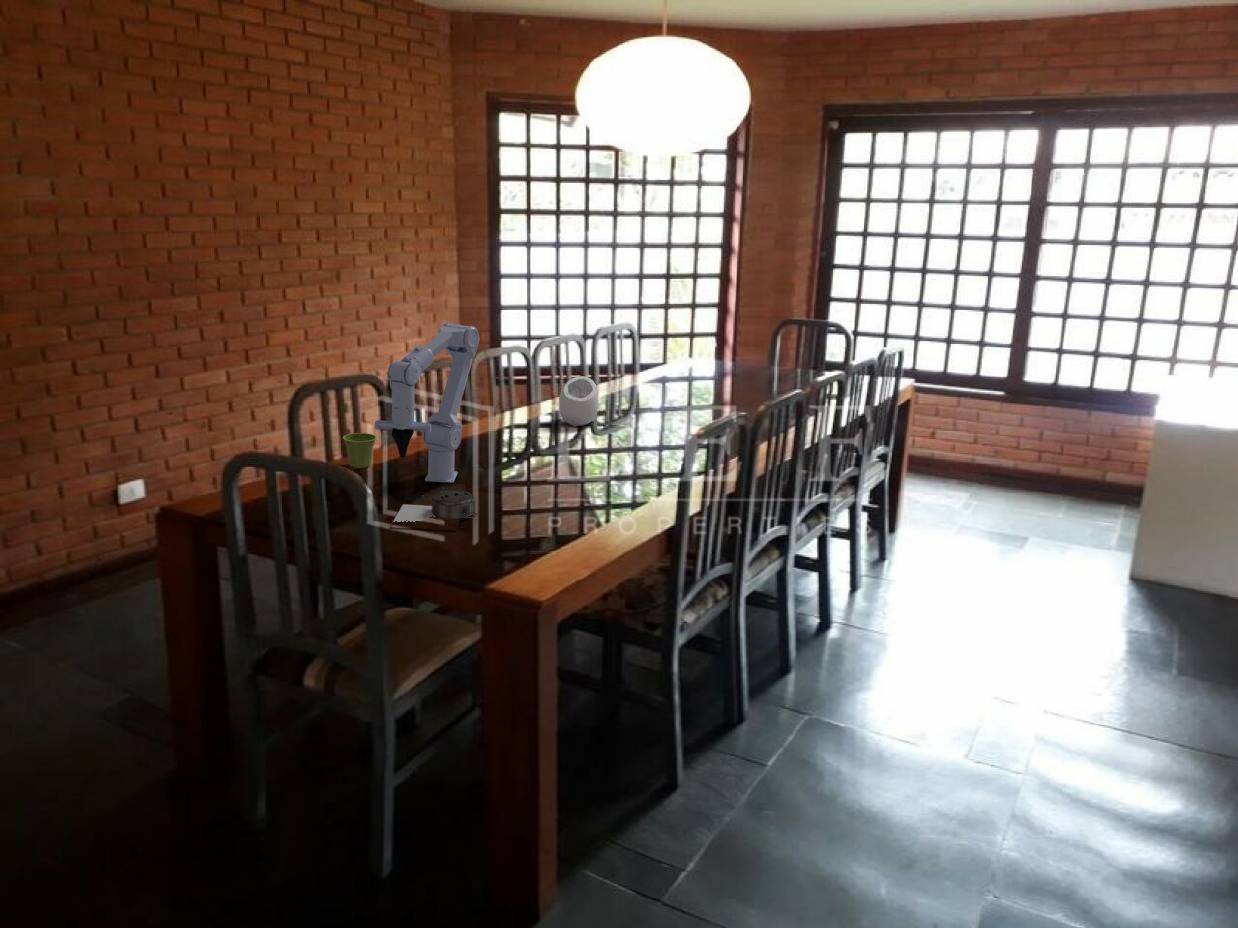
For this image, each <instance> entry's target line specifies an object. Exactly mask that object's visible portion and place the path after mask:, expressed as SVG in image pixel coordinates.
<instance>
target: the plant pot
mask: <svg viewBox="0 0 1238 928" xmlns="http://www.w3.org/2000/svg"><path fill="white" fill-rule="evenodd" d="M342 439H343V441H344V443H345V446H346V452H347V453H346V454H347V458H348V463H349V464H348V465H349V467H352V468H353V469H365V468H367V467H368V468H369V467H371V466H372V460H373V454H374V453H373V452H374V445H375V443H376V440H377V436H376V435H375V434H373V433H367V432H355V433H353V432H352V433H348V434H344V435H343V437H342Z"/></svg>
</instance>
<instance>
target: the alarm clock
mask: <svg viewBox="0 0 1238 928" xmlns="http://www.w3.org/2000/svg"><path fill="white" fill-rule="evenodd" d="M441 490H442V491H439V492H437V493H435V494H433V496H432V498H431V500H427V499H426V501H425V503H427V504H431V506H432V513H433V514H434V515H435V516H437V517H440V518H445V519H460V518H465V519H474V518H476V517H477V516H478V513H476V498H475V497H476V496H474V495H473V494H472V493H471V492H467V491H464V490H459V489H458V490H457V489H453V490H451V489H448V490H447V489H446V488H445V487H444V486H441ZM472 514H474V515H473V516H471V515H472ZM468 516H471V517H468Z"/></svg>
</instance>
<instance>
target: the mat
mask: <svg viewBox="0 0 1238 928" xmlns="http://www.w3.org/2000/svg"><path fill="white" fill-rule="evenodd" d="M432 516H433V517H436V516H435V515H434V514H433V513H432V505H421V504H406V503H405V504H402V505H401V507H400V509H399V511H398V512H397V515H396V516H395V517H394V519H393V522H395V521H397V522H401V521H402V522H404V521H406V520H407V521H406V522H408V521H410V522H412V521H413V522H415V521H423V520H425V519H426V518H429V517H432ZM393 522H392V523H393Z"/></svg>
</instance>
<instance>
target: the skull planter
mask: <svg viewBox="0 0 1238 928" xmlns="http://www.w3.org/2000/svg"><path fill="white" fill-rule="evenodd" d="M558 399H559V400H558V405H559V406H558V409H559V413H560V417H561V419H562V420H563V421H564V422H566V423H567V424H568V425H570V426H572V427H574V428H576V427H578V426H580V427H581V426H582V427H583V426H585V425H587V424H589V423H591V422H595V421H596V417H597V414H598V409H599V406H600V404H599V390H598V386H597V385H596V383H595V381H594V380H593V379H591V378H590V377H587V376H585V375H583V376H582V375H580V376H576V377H573V378H570V379H569V380H568V381H567V382H565V384H564V386H563V387H562V388H561V391H560V393H559V398H558Z"/></svg>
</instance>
